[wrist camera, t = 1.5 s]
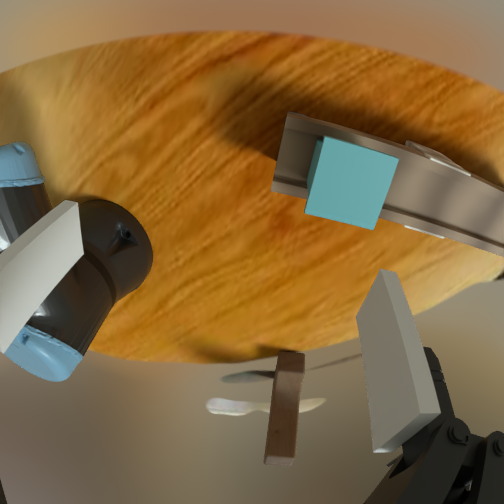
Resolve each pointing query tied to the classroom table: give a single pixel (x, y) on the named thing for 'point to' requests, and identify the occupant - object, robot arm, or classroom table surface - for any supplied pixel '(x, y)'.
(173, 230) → the classroom table surface
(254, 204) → the classroom table surface
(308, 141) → the wooden bench
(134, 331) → the classroom table surface
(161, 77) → the classroom table surface
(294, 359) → the wooden block
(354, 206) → the rider
